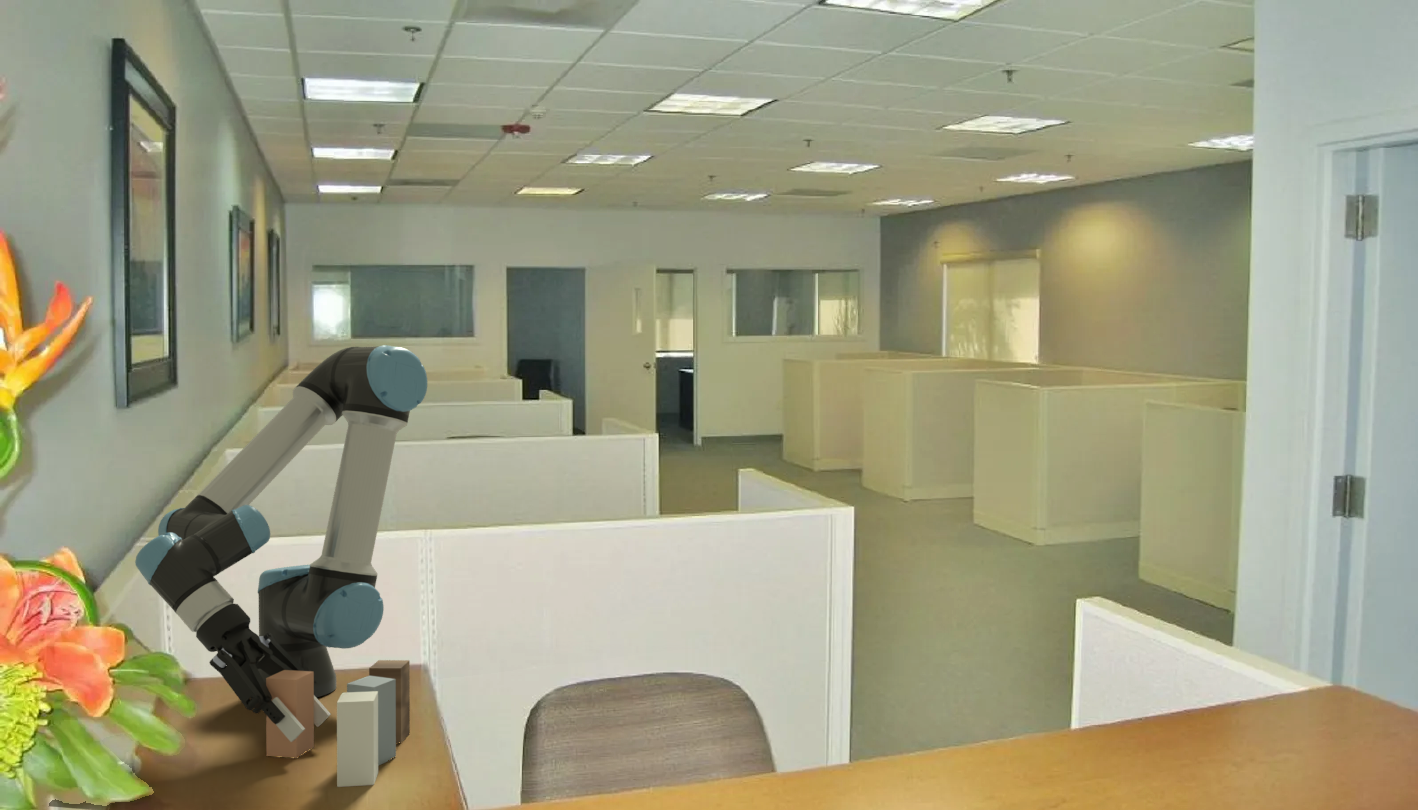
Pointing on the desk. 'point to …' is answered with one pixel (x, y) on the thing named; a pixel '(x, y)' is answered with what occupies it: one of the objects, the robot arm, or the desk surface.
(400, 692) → the walnut block
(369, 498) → the robot arm
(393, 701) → the slate-grey block
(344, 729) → the off-white block
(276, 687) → the terracotta block
